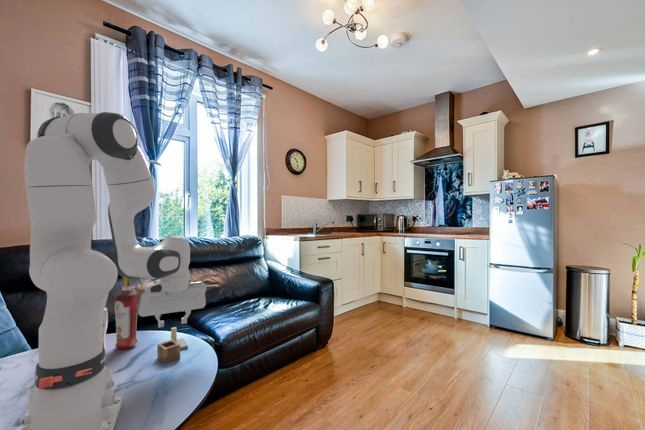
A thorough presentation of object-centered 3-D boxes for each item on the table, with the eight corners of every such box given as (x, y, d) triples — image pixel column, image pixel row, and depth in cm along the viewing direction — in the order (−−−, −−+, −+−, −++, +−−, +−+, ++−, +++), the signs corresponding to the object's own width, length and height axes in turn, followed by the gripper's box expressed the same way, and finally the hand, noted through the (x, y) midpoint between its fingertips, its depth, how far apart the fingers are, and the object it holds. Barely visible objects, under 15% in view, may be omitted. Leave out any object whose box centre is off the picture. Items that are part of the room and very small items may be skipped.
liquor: (109, 350, 104) (109, 272, 104) (126, 341, 111) (126, 269, 111) (126, 352, 102) (126, 273, 102) (143, 343, 109) (142, 269, 109)
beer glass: (86, 349, 105) (86, 307, 105) (110, 345, 108) (110, 305, 108) (80, 357, 98) (80, 314, 98) (105, 353, 101) (105, 311, 101)
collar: (180, 359, 97) (180, 344, 97) (164, 364, 94) (164, 349, 94) (172, 353, 101) (172, 339, 101) (157, 358, 98) (157, 344, 98)
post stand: (187, 348, 105) (188, 329, 105) (163, 354, 101) (163, 334, 101) (183, 340, 112) (183, 322, 112) (159, 346, 107) (159, 327, 107)
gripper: (204, 279, 107) (202, 317, 106) (138, 285, 94) (136, 327, 94) (208, 282, 102) (207, 322, 101) (140, 288, 89) (138, 334, 89)
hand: (172, 325), depth 97 cm, fingers open, 6 cm apart
